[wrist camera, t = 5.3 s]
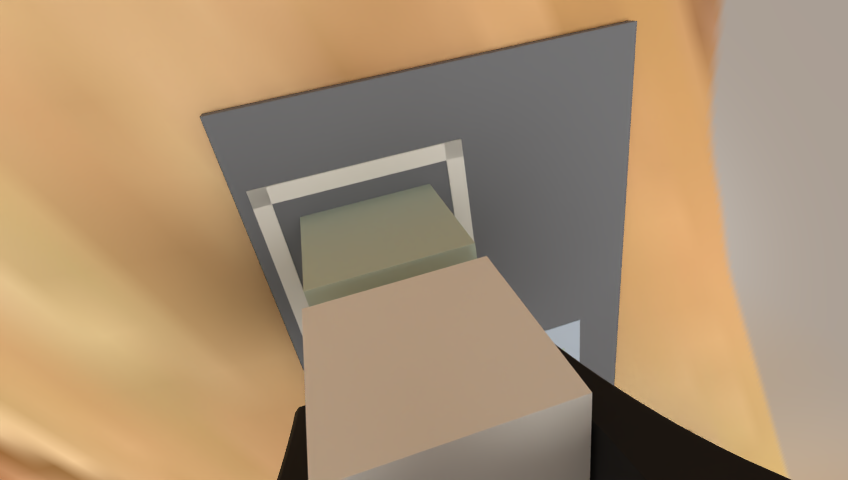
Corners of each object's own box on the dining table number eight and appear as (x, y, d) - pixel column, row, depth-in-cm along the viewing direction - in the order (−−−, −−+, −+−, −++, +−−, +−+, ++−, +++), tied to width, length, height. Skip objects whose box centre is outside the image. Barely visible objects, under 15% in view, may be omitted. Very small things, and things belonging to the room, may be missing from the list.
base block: (447, 288, 18) (490, 367, 14) (335, 321, 17) (348, 413, 13) (429, 183, 16) (475, 242, 12) (299, 216, 15) (303, 291, 11)
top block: (501, 385, 13) (587, 544, 9) (349, 435, 13) (376, 627, 9) (486, 255, 11) (592, 392, 7) (301, 309, 10) (308, 491, 7)
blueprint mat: (607, 416, 25) (612, 423, 25) (360, 503, 23) (361, 513, 23) (629, 20, 15) (638, 20, 15) (201, 113, 13) (199, 117, 13)
